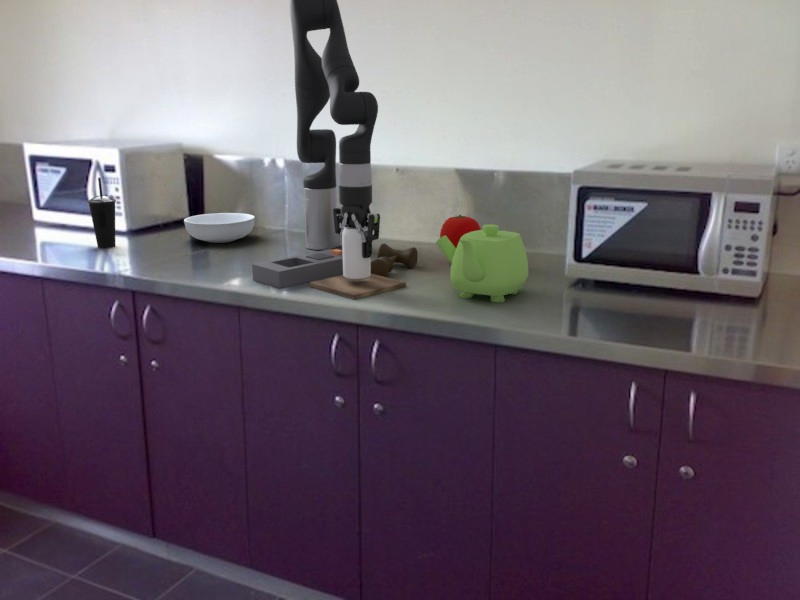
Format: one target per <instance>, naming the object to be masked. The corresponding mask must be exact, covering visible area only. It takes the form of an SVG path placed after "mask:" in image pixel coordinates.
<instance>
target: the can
mask: <svg viewBox="0 0 800 600" xmlns="http://www.w3.org/2000/svg"><path fill="white" fill-rule="evenodd" d="M347 226H348V225H347ZM364 228H367V227H366V226H365V227H364ZM365 234H366V236H367V235H368V233H367V232H365ZM362 242H363V241H362V238H361V234H360V233H358V232H357V228H354V227H349V226H348V227H345V226H344V230H343V232H342V237H341V250H342V251H343V274H342V275H343V276H344V277H345V278H346V279H350V280H362V279H367V278H369V276H370V275H371V261H372V260H371V258H372V256H371V257H370V258H363V257H362Z"/></svg>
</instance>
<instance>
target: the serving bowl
mask: <svg viewBox="0 0 800 600" xmlns="http://www.w3.org/2000/svg"><path fill="white" fill-rule="evenodd" d="M255 220H256V216H255V215H252V214H251V213H250V214H249V213H241V212H240V213H239V212H219V213H218V212H217V213H204V214H203V213H202V214H197V215H192V216H189V217H186V218H184V220H183V223H184V226H185V229H186V231H187V233H188V234H189V235H190V236H192V237H193V238H194V239H197V240H200V241H202V242H206V243H212V244H213V243H214V244H219V243H220V244H221V243H223V244H224V243H230V242H235V241H237V240H239V239H242V238H244V237H246V236H247V235H249V234H250V233H251V232H252V230H253V228H254V226H255V222H256V221H255Z"/></svg>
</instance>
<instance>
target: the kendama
mask: <svg viewBox="0 0 800 600" xmlns="http://www.w3.org/2000/svg"><path fill="white" fill-rule="evenodd" d="M418 253H419V252H418V248H416V247H409V248H407V249H404V250H403V249H401V250H400V249H394V248H392V247H391V246H390V245H389V244H387V243H385V242H384V243H383V242H382V243H381V244H380V245H379V248H378V250H377V258H374V259H372V260H371V274H375V275H379V276H383V277H387V276H388V274H389V273H391V272H392V271H393V269H394V264H395V263H396V264H402V265H403V266H406V267H407V268H408V269H414V268H415V267H416V266H417V265H418V264H417V263H418V259H419V258H418V256H419V255H418Z"/></svg>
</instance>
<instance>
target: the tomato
mask: <svg viewBox="0 0 800 600" xmlns="http://www.w3.org/2000/svg"><path fill="white" fill-rule="evenodd" d="M477 230H482V228H481V226H480V224H479V222H478V221H477V220H476V219H474V218H472V217H470V216H467V215H462V214H458V215H456V216H451V217H448V218H447V219H445V221H444V222H443V224H442V226H441V228H440V231H439V232H440V233H439V239H440V238H441V237H443V236H445V235H446V236H447V238H448V239H449V240H450V242H451V243H452V244H453V245H454V247H455V248H457V245H458V243H459V241H460V238H461V237H462V236H463V235H465V234H467V233H469V232H473V231H477Z"/></svg>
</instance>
